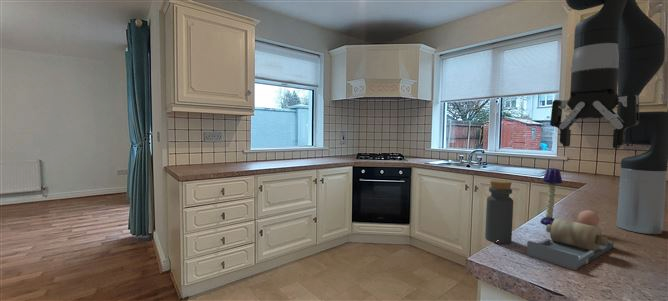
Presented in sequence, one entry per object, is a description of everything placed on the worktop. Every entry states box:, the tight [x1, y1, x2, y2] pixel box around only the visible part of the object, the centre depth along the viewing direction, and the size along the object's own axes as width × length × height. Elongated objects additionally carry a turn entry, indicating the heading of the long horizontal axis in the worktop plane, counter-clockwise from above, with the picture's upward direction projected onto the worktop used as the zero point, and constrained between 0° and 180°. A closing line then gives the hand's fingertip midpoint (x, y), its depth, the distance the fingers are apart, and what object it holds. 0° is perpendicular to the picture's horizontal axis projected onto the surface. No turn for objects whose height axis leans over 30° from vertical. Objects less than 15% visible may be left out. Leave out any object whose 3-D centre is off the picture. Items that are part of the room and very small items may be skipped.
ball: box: [577, 209, 600, 226], centre depth 76 cm, size 4×4×4 cm
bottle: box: [484, 179, 514, 245], centre depth 77 cm, size 6×6×15 cm
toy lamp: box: [540, 167, 563, 226], centre depth 91 cm, size 5×5×17 cm
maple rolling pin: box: [545, 217, 609, 252], centre depth 71 cm, size 11×6×6 cm, turn 34°
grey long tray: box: [526, 238, 615, 271], centre depth 71 cm, size 23×9×3 cm, turn 124°
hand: (589, 147), depth 65 cm, fingers open, 8 cm apart
